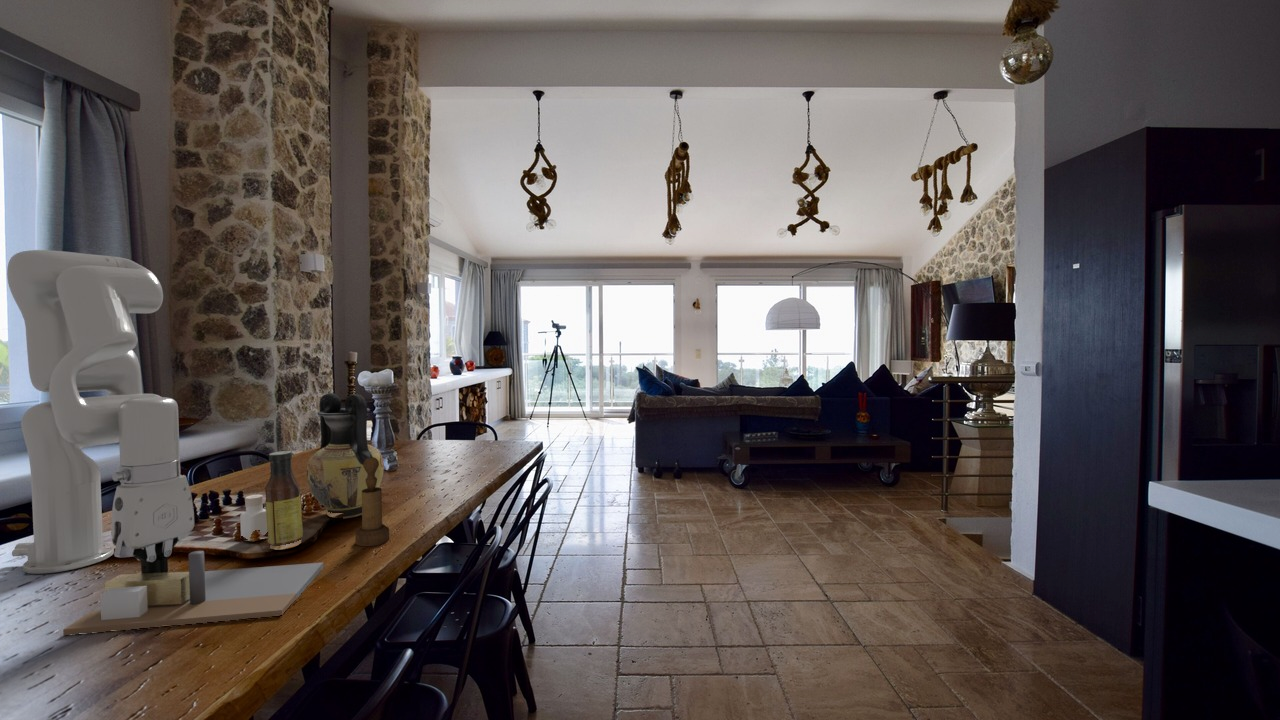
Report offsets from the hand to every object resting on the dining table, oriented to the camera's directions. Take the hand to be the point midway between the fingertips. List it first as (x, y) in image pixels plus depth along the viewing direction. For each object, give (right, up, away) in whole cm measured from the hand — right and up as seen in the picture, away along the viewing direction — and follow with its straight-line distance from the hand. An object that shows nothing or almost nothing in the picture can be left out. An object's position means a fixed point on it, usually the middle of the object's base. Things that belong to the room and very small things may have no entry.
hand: (155, 581), depth 96 cm
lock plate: (+8, -3, +1) cm, 9 cm away
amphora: (+8, -1, +47) cm, 48 cm away
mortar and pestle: (+23, -2, +28) cm, 36 cm away
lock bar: (+2, -2, -3) cm, 4 cm away
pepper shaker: (-3, -2, +29) cm, 29 cm away
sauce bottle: (+7, -2, +24) cm, 25 cm away
